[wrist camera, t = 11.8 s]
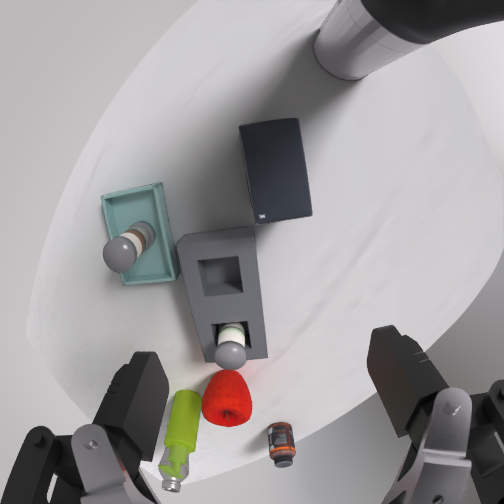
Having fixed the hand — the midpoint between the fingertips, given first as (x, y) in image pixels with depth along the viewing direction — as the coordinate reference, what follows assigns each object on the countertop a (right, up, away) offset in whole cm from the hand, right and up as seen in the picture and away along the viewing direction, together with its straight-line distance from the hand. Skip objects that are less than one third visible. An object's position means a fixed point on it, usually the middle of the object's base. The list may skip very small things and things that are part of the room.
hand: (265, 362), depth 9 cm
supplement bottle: (+6, -39, +47) cm, 61 cm away
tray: (-17, +7, +29) cm, 34 cm away
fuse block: (-4, -2, +33) cm, 33 cm away
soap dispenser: (-14, -27, +42) cm, 52 cm away
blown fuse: (-17, +7, +29) cm, 34 cm away
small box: (+2, +16, +27) cm, 31 cm away
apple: (-5, -20, +40) cm, 45 cm away
